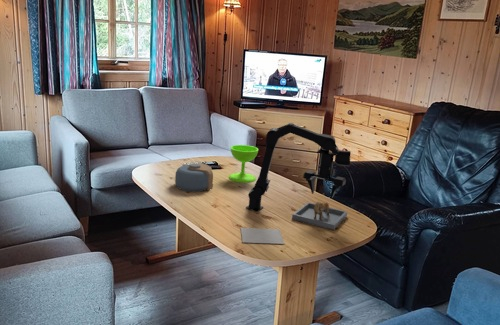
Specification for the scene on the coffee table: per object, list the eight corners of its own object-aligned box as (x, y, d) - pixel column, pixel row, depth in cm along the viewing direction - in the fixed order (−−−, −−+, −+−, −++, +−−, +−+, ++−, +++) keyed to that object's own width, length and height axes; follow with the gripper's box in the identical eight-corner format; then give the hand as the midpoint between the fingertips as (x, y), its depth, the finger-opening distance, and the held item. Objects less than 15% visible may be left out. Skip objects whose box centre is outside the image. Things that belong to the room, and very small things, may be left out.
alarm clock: (217, 191, 234) (218, 169, 231) (179, 193, 227) (180, 170, 223) (206, 180, 251) (208, 159, 248) (171, 181, 244) (172, 160, 241)
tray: (333, 230, 196) (334, 225, 195) (291, 219, 204) (292, 214, 204) (346, 216, 213) (347, 211, 212) (307, 206, 222) (308, 202, 221)
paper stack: (239, 220, 199) (239, 219, 199) (294, 222, 201) (294, 221, 201) (242, 243, 177) (242, 242, 176) (304, 246, 179) (304, 244, 179)
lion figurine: (321, 223, 201) (323, 204, 199) (310, 220, 203) (312, 202, 201) (330, 213, 214) (333, 195, 211) (320, 211, 216) (322, 193, 214)
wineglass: (225, 174, 264) (227, 144, 259) (251, 174, 269) (253, 145, 264) (232, 183, 249) (234, 151, 244) (259, 182, 254) (262, 151, 249)
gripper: (351, 163, 205) (346, 195, 209) (313, 156, 213) (309, 187, 217) (344, 168, 195) (339, 202, 199) (304, 160, 203) (300, 193, 207)
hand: (322, 195), depth 206 cm, fingers open, 9 cm apart
